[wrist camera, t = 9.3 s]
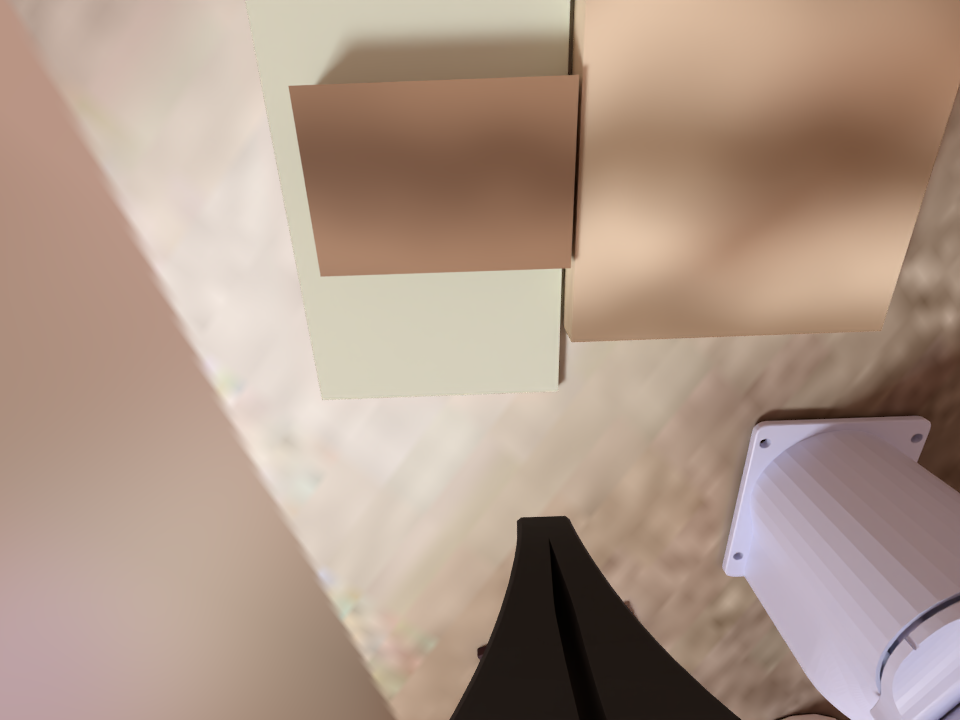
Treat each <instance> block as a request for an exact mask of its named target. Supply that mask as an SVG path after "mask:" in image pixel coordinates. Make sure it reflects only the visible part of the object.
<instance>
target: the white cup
mask: <svg viewBox="0 0 960 720" xmlns="http://www.w3.org/2000/svg"><path fill="white" fill-rule="evenodd" d="M781 720H837V719H835V718H832V717H828V716H823V715H818V714H806V715H796V716H790V717H787V718H784V719H781Z"/></svg>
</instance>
